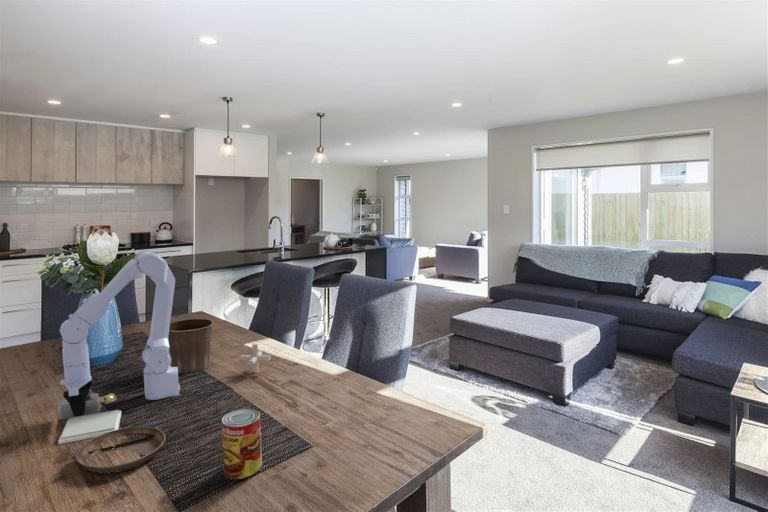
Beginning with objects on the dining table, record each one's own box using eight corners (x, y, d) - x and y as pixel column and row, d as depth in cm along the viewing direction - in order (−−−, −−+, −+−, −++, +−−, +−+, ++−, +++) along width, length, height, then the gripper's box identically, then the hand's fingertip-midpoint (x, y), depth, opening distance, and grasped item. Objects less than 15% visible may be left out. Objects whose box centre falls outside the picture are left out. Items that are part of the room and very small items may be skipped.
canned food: (216, 471, 97) (214, 418, 95) (247, 455, 103) (245, 405, 102) (238, 485, 92) (235, 429, 91) (269, 467, 98) (267, 415, 97)
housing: (101, 409, 126) (100, 392, 126) (99, 416, 122) (98, 398, 122) (62, 416, 122) (60, 398, 122) (59, 423, 118) (57, 405, 118)
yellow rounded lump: (116, 404, 130) (106, 408, 128) (109, 401, 132) (99, 405, 129) (116, 395, 130) (106, 399, 127) (110, 391, 131) (99, 395, 129)
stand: (121, 417, 122) (121, 408, 122) (117, 437, 111) (116, 427, 111) (68, 426, 117) (67, 417, 116) (58, 449, 106) (57, 439, 106)
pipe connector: (266, 377, 150) (265, 348, 149) (236, 377, 150) (235, 348, 149) (274, 367, 160) (273, 339, 159) (246, 366, 160) (245, 339, 159)
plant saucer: (178, 436, 112) (177, 424, 112) (143, 479, 95) (142, 465, 94) (106, 437, 112) (105, 426, 111) (57, 481, 94) (56, 467, 94)
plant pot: (204, 377, 151) (201, 330, 149) (156, 377, 151) (153, 330, 149) (222, 360, 167) (220, 318, 165) (179, 360, 167) (177, 318, 165)
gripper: (64, 357, 125) (68, 403, 127) (52, 374, 112) (57, 426, 114) (93, 353, 128) (97, 399, 130) (85, 370, 115) (89, 420, 117)
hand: (80, 411), depth 122 cm, fingers closed on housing, 4 cm apart
